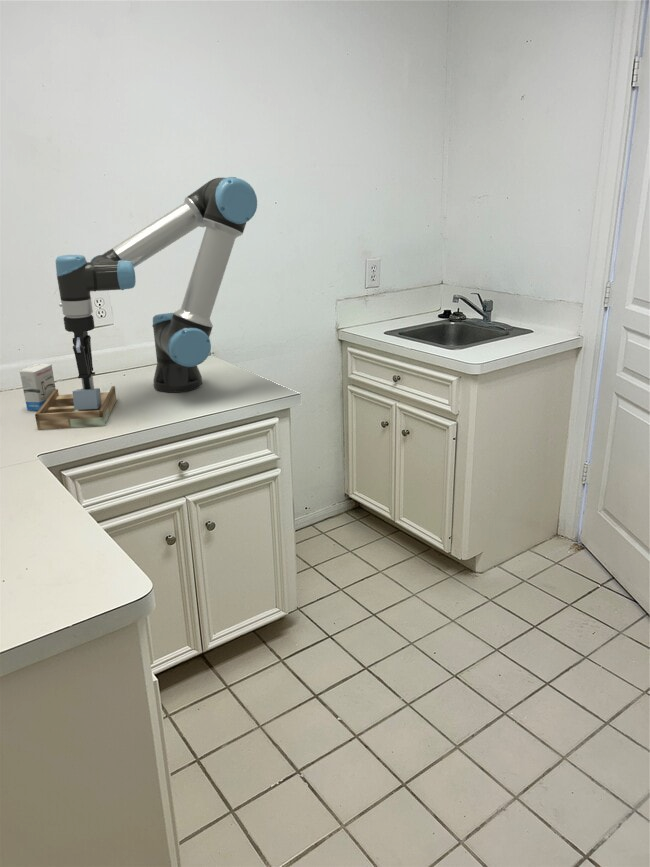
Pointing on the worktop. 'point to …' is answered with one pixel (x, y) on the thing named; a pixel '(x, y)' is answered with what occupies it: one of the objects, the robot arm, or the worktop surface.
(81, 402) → the block
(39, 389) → the ink box
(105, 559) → the worktop surface
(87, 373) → the robot arm
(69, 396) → the wooden tray
